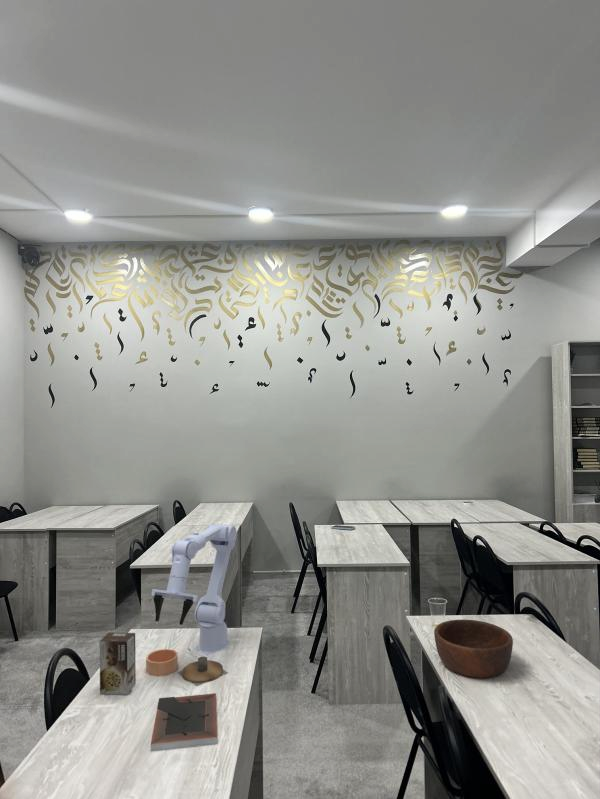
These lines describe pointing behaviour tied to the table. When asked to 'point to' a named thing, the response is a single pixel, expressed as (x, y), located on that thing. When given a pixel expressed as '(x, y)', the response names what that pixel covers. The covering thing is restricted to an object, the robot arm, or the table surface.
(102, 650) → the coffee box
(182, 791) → the table surface
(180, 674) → the mat
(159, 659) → the bowl
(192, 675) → the lid
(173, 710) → the picture frame
